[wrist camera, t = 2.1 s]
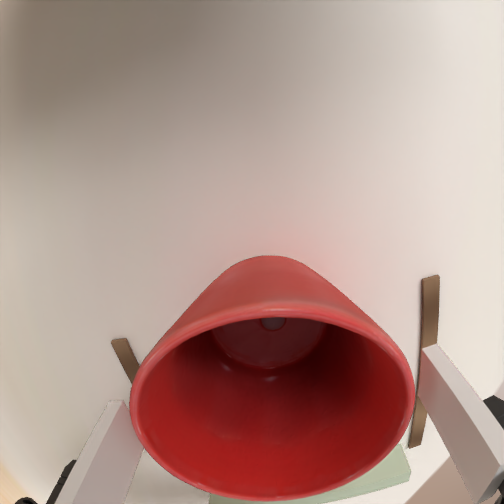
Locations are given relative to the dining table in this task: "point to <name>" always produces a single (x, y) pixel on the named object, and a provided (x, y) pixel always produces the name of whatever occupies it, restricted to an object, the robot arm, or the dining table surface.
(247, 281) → the flower pot
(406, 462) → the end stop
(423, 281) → the guide strips
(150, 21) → the dining table surface
